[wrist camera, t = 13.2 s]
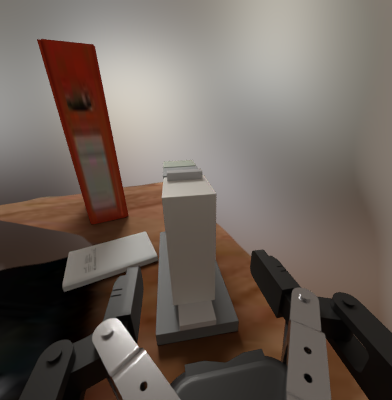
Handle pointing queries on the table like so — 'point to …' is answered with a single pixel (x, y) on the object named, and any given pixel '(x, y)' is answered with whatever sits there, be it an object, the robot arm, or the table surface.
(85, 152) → the file binder
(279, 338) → the table surface
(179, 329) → the board
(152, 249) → the external hard drive
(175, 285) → the block
